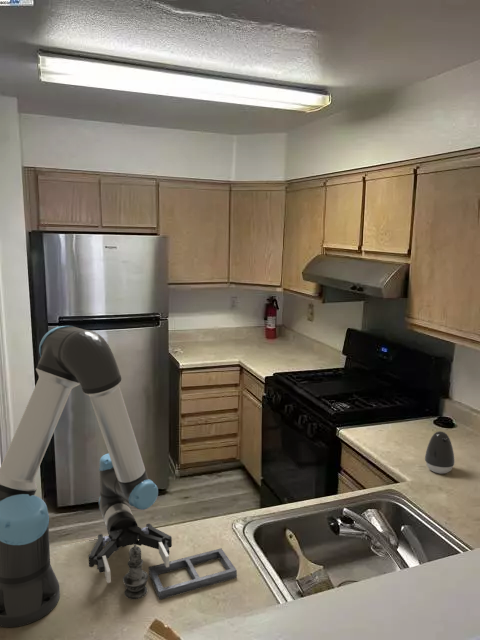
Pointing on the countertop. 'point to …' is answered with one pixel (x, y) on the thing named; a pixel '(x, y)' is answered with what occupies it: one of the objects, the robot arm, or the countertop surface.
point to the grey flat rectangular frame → (192, 573)
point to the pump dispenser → (440, 453)
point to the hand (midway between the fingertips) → (139, 569)
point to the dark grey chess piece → (135, 575)
